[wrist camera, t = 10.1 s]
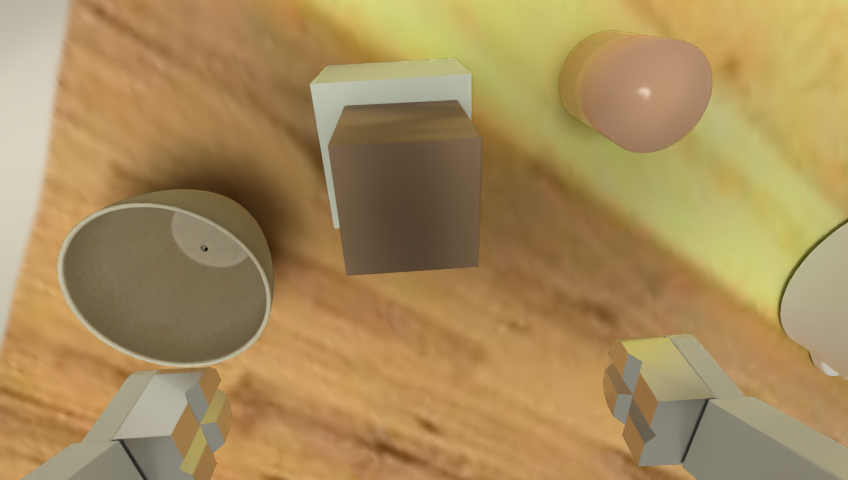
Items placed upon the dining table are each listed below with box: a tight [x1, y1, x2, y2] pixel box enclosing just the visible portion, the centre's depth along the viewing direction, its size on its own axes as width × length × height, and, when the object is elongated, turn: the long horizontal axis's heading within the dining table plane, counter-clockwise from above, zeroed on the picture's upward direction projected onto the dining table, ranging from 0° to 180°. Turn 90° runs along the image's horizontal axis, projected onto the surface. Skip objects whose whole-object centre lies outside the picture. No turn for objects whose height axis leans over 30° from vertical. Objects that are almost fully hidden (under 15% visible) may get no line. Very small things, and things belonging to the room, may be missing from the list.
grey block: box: [310, 58, 472, 228], centre depth 23 cm, size 7×7×6 cm
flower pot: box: [57, 189, 274, 367], centre depth 25 cm, size 10×10×7 cm
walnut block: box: [328, 100, 482, 276], centre depth 18 cm, size 5×5×6 cm
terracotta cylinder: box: [559, 31, 712, 153], centre depth 23 cm, size 5×5×6 cm
